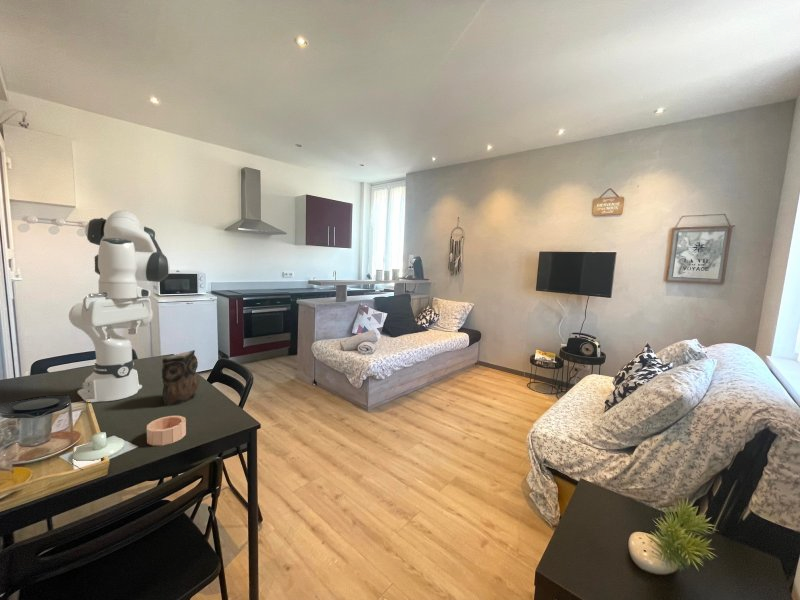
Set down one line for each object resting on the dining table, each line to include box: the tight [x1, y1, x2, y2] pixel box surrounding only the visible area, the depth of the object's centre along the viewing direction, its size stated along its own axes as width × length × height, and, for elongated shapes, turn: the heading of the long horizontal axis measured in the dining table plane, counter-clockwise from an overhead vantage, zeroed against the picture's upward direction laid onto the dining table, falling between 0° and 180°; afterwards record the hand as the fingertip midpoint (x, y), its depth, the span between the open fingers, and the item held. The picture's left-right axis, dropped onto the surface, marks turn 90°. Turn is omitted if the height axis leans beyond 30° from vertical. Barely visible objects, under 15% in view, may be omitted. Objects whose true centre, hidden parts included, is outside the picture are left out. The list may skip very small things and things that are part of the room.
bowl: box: [146, 415, 187, 446], centre depth 104 cm, size 10×10×5 cm
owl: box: [161, 349, 200, 407], centre depth 131 cm, size 13×13×20 cm
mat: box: [58, 435, 139, 465], centre depth 95 cm, size 13×13×1 cm
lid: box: [73, 431, 124, 461], centre depth 95 cm, size 11×11×5 cm
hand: (119, 336), depth 98 cm, fingers open, 8 cm apart
